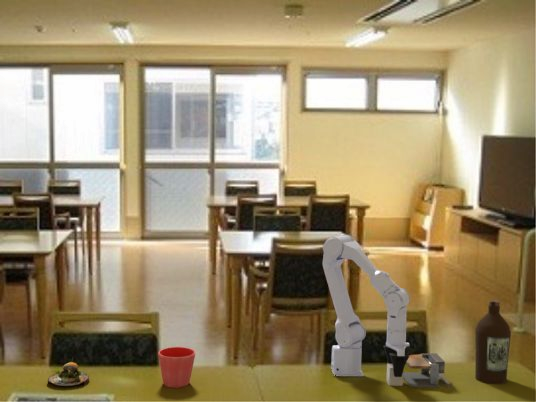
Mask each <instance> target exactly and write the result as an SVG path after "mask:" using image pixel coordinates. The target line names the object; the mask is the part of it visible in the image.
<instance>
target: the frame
mask: <svg viewBox="0 0 536 402" xmlns="http://www.w3.org/2000/svg"><path fill="white" fill-rule="evenodd" d="M420 354H421V357H422V358H425V360H426V361H427V362H428V363H429V364H430V369H420V372H421V374H430V382H429V384H430V385H439V380H440V381H441V382H442V383H443V384H444V385H445V387H447V388H448V387H449V388H450V387H451V383H450V381H449V380H448V379H447V377H445V376H444V375H443V373H439V364H432V363H431V362H430V361H429V360H428V355H429V353H420Z"/></svg>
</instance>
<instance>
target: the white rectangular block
mask: <svg viewBox="0 0 536 402" xmlns="http://www.w3.org/2000/svg"><path fill="white" fill-rule="evenodd" d="M386 382H387V384H388V386H390V387H391V386H395V387H396V386H397V387H398V386H404V378H403V374H402V377H395V376H394V372H393V364H388V363H387V364H386Z"/></svg>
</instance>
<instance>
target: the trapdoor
mask: <svg viewBox="0 0 536 402" xmlns="http://www.w3.org/2000/svg"><path fill="white" fill-rule="evenodd" d="M428 354H429V355H428V360H429V361H430V362H431V363H432V364H439V373H441V374H445V366H446V361H445V360H444V359H443V358H442V357H441V356H440V355H439V354H438V353H431V352H429V353H428ZM406 364H407V366H408V367H409V369H416V370H417V369H419V370H421V369H429V370H430V364H429V363H428V362H427V361H426V360H425V358H422V357H409V358H408V360H407V362H406Z"/></svg>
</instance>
